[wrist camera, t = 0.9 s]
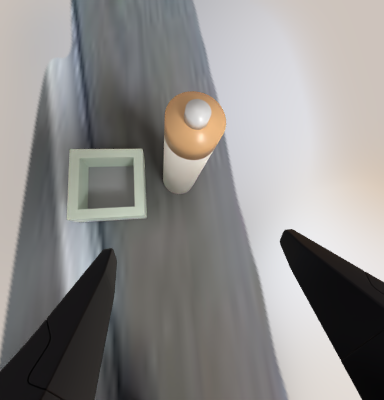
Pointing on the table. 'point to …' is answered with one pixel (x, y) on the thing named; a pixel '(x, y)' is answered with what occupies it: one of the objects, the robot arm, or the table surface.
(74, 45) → the table surface
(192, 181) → the cell
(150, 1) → the table surface
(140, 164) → the frame
